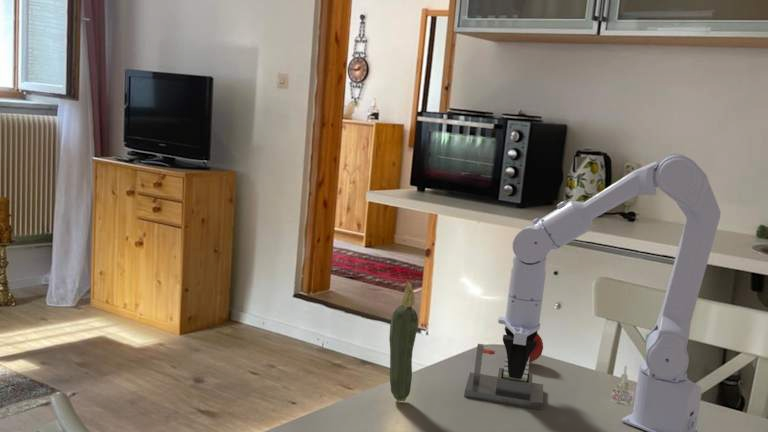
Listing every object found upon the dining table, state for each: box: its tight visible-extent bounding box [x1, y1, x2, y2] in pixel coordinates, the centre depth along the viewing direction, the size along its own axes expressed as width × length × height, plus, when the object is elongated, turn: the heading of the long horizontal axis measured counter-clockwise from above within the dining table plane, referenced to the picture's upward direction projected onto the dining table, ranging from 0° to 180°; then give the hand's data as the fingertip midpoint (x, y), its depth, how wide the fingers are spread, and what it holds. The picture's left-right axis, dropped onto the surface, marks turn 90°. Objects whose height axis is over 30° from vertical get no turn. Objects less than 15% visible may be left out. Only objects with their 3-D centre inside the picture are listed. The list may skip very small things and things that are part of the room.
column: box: [503, 352, 530, 382], centre depth 127 cm, size 4×4×6 cm
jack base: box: [463, 343, 544, 411], centre depth 127 cm, size 13×9×8 cm
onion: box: [529, 332, 544, 364], centre depth 144 cm, size 6×6×8 cm
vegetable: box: [388, 280, 419, 403], centre depth 118 cm, size 4×4×20 cm
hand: (515, 373), depth 127 cm, fingers closed on column, 4 cm apart
